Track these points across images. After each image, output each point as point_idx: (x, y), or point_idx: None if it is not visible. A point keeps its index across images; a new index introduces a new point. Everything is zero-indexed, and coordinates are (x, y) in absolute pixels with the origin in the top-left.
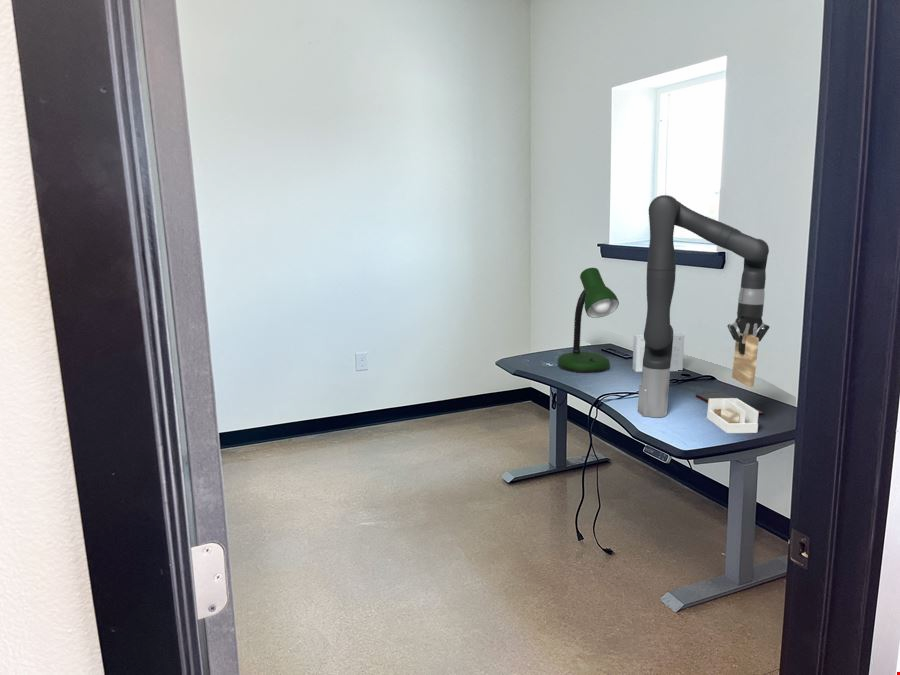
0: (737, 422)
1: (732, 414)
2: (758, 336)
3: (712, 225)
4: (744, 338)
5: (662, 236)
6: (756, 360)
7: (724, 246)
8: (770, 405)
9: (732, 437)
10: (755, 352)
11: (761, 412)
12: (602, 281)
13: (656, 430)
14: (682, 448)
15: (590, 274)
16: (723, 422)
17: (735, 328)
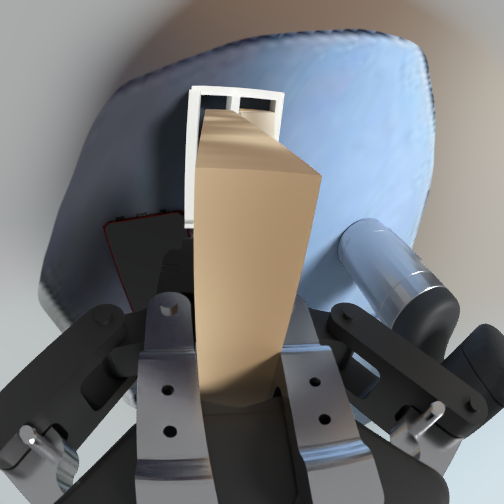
0: (242, 109)
1: (264, 112)
2: (94, 377)
3: None
4: (291, 333)
5: None
6: (204, 119)
7: None
8: (72, 278)
9: (281, 64)
10: (224, 127)
11: (108, 226)
12: None
13: (412, 149)
14: (416, 50)
15: None
16: (280, 118)
17: (446, 408)
